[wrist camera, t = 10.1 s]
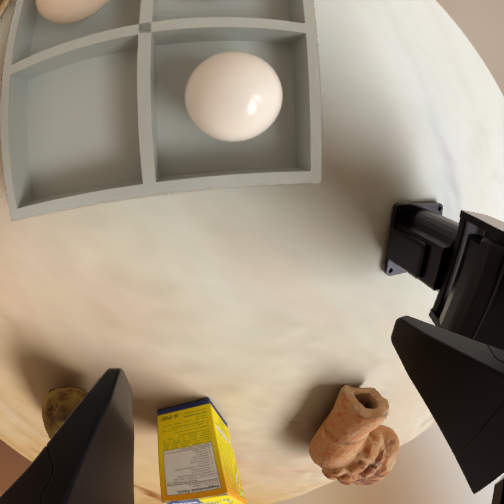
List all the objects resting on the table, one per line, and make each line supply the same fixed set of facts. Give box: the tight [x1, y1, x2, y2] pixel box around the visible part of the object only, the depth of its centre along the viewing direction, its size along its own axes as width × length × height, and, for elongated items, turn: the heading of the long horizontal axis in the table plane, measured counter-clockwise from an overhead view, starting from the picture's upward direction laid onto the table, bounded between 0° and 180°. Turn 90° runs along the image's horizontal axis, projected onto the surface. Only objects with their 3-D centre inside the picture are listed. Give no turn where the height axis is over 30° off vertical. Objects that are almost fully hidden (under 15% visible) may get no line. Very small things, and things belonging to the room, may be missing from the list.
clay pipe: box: [309, 384, 400, 485], centre depth 30 cm, size 19×11×15 cm
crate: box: [0, 0, 322, 221], centre depth 12 cm, size 19×19×3 cm
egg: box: [185, 51, 283, 142], centre depth 13 cm, size 5×5×5 cm
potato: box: [42, 387, 88, 439], centre depth 18 cm, size 8×13×8 cm, turn 127°
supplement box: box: [157, 398, 247, 504], centre depth 21 cm, size 6×6×11 cm
